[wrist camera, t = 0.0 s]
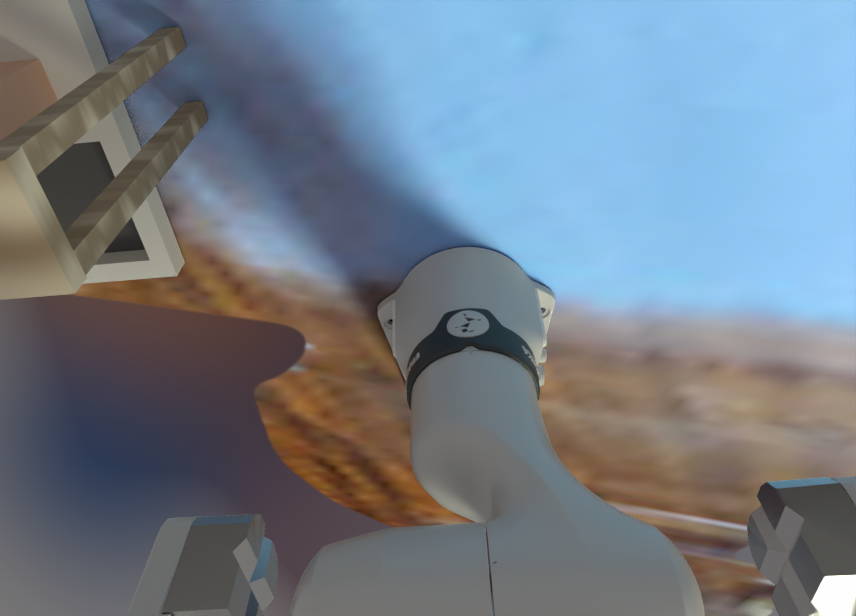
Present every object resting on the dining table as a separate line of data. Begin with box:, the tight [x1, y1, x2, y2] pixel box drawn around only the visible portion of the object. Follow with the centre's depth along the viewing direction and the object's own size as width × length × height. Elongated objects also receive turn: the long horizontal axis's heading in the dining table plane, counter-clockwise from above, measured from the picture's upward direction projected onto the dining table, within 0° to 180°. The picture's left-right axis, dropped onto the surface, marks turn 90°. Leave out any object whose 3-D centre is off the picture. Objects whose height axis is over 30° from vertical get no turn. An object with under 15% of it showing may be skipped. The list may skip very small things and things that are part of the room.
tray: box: [0, 0, 185, 284], centre depth 54 cm, size 32×14×2 cm, turn 5°
